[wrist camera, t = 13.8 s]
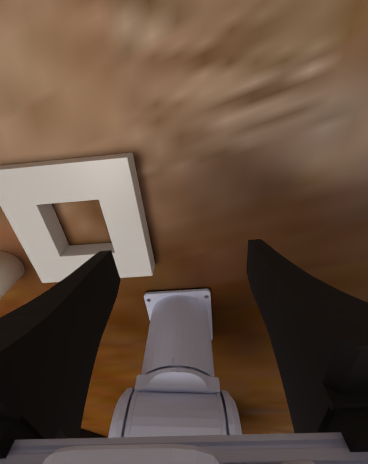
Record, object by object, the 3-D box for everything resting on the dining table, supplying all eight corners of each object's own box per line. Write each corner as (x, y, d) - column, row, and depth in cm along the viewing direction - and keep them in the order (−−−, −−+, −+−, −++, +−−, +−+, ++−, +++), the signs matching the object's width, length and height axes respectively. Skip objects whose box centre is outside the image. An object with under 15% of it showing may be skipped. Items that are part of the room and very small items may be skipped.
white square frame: (154, 263, 25) (152, 275, 23) (52, 270, 26) (42, 282, 24) (132, 152, 19) (127, 157, 17) (-1, 165, 20) (-19, 171, 18)
